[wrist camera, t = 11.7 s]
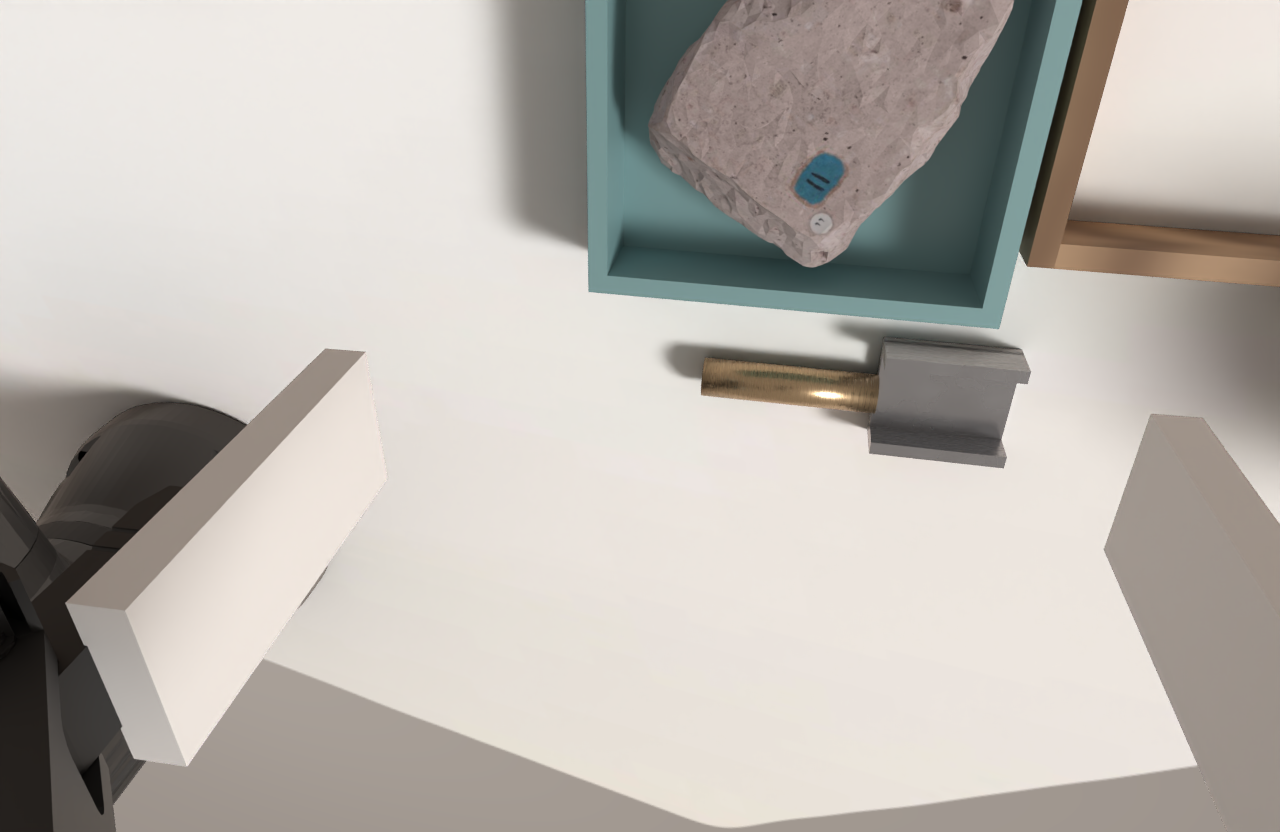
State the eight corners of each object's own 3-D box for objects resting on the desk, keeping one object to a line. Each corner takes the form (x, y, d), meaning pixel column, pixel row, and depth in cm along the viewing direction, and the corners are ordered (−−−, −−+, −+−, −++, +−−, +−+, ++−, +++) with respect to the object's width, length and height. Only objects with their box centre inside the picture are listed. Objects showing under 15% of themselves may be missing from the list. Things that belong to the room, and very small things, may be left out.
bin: (607, 257, 41) (588, 291, 38) (608, -211, 32) (583, -221, 28) (983, 289, 39) (999, 328, 35) (1101, -206, 30) (1137, -215, 26)
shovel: (702, 411, 44) (697, 434, 43) (708, 320, 42) (703, 340, 40) (996, 443, 43) (1003, 468, 41) (1021, 349, 40) (1030, 371, 38)
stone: (817, 257, 39) (818, 312, 34) (638, 124, 37) (610, 162, 32) (1057, -23, 32) (1104, -6, 27) (852, -199, 31) (860, -216, 26)
